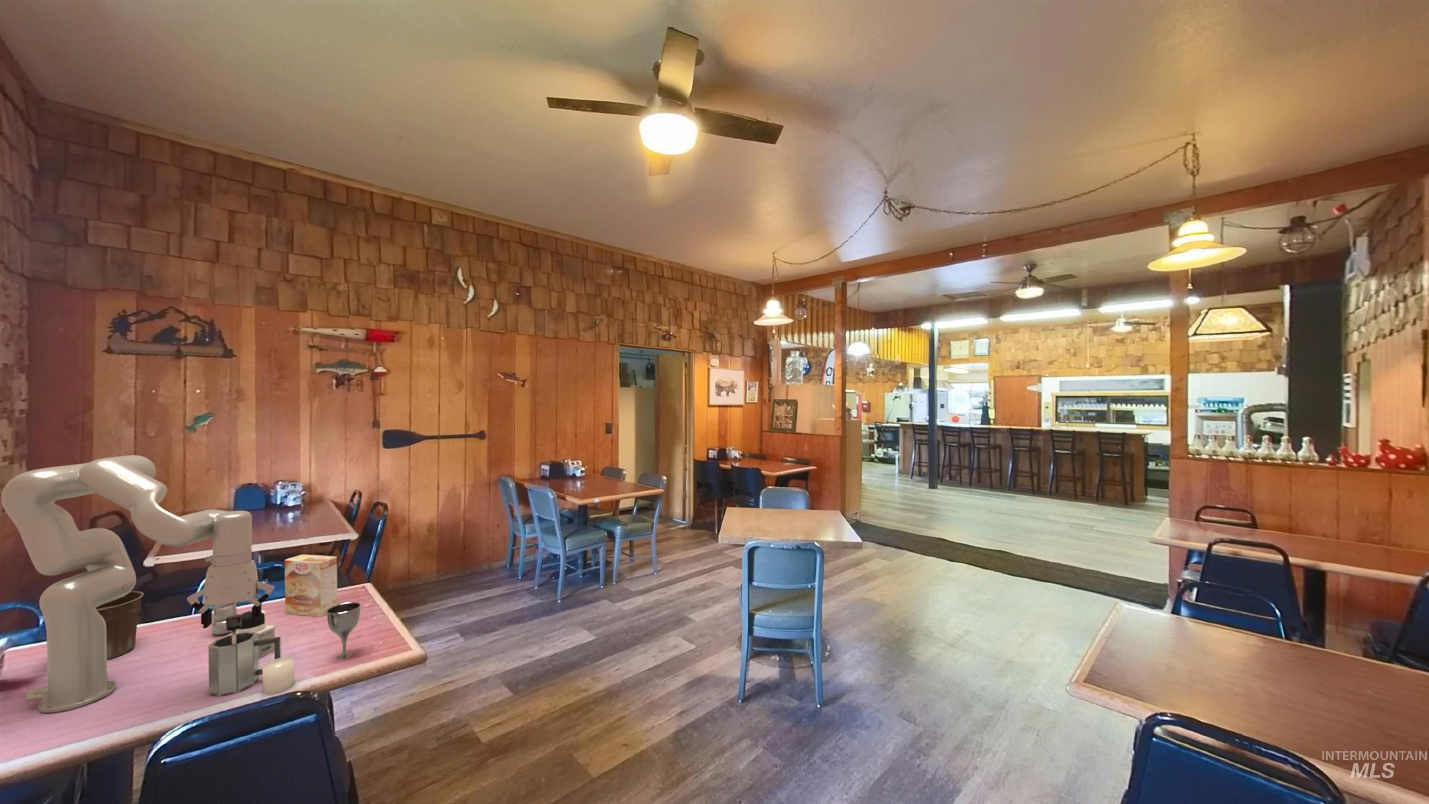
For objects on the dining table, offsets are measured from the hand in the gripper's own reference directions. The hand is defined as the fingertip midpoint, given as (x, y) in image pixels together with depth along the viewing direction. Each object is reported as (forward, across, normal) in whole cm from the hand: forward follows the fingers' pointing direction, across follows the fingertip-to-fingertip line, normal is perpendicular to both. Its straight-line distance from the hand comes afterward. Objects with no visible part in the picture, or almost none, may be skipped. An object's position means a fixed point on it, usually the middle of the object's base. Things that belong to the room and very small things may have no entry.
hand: (231, 622), depth 135 cm
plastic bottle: (+18, -14, +43) cm, 49 cm away
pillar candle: (+17, +11, -6) cm, 22 cm away
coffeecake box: (+18, +7, +51) cm, 54 cm away
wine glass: (+17, +24, +6) cm, 30 cm away
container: (+18, -1, +20) cm, 27 cm away
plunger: (+15, +1, 0) cm, 15 cm away
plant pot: (+19, -41, +41) cm, 61 cm away
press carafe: (+17, +3, 0) cm, 18 cm away
